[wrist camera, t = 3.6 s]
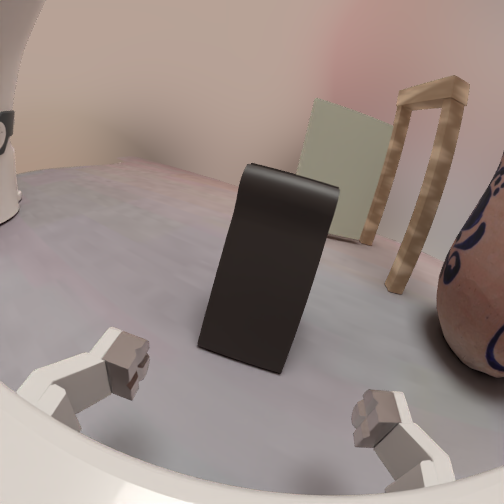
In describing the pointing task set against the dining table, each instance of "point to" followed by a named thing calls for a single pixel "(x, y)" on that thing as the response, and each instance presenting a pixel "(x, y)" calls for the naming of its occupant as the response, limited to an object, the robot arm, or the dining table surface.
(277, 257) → the phone stand
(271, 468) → the dining table surface
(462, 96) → the door frame
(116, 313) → the dining table surface
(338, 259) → the dining table surface
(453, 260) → the ceramic pitcher
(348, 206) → the door
